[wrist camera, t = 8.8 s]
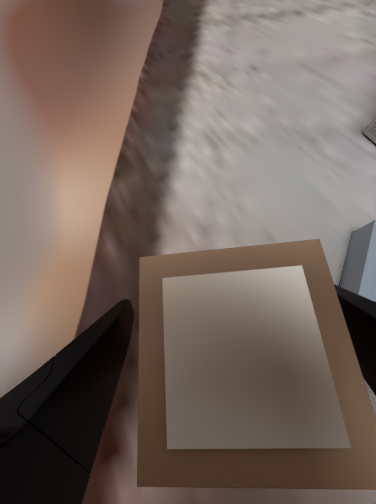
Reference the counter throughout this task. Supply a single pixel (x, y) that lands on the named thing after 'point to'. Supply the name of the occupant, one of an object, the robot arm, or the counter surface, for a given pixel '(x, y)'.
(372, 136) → the coffee box
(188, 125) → the counter surface
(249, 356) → the walnut box
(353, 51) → the counter surface
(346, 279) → the tray
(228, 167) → the counter surface
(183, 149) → the counter surface
